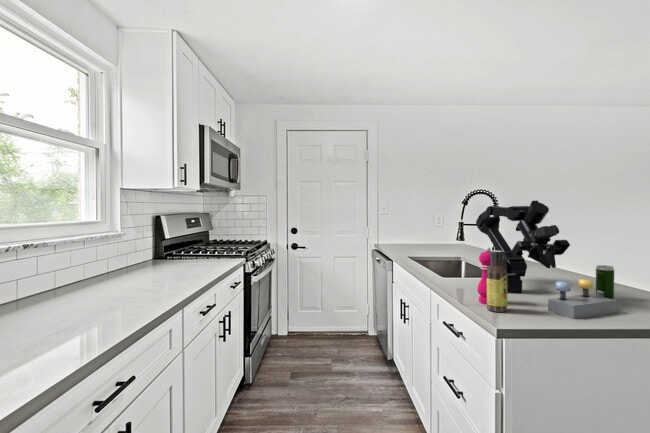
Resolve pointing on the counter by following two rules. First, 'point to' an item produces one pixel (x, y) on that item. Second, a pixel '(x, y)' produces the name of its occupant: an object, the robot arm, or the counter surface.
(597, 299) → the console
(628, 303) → the counter surface
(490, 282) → the sauce bottle
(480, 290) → the pepper mill
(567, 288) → the blue button
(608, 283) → the beer can
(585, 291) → the amber button
